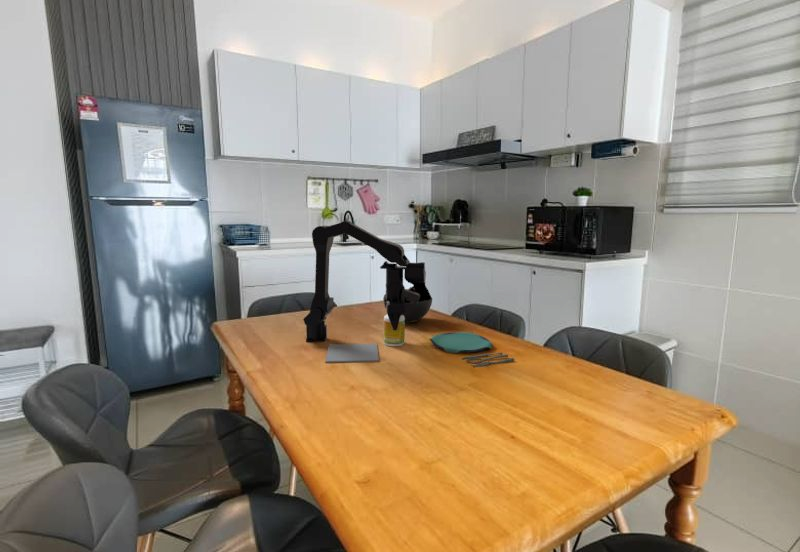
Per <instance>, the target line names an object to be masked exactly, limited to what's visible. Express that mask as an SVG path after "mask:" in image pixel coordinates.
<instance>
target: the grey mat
mask: <svg viewBox="0 0 800 552" xmlns="http://www.w3.org/2000/svg"><path fill="white" fill-rule="evenodd" d="M378 349H379V348H378V344H377V343H344V344H342V343H341V344H339V343H338V344H336V343H335V344H328V348H327V352H326V356H325V361H324V362H325V364H329V363H331V364H332V363H333V364H334V362H335V363H371V362H380V357H379V350H378Z"/></svg>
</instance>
